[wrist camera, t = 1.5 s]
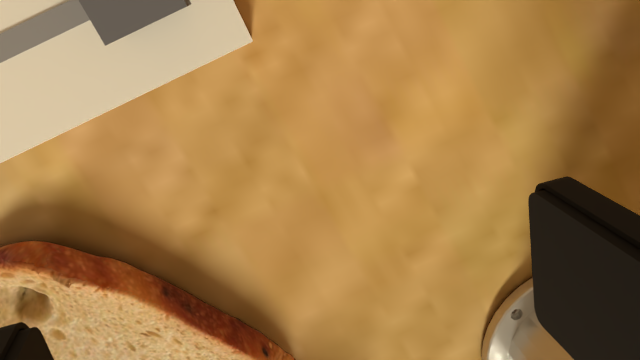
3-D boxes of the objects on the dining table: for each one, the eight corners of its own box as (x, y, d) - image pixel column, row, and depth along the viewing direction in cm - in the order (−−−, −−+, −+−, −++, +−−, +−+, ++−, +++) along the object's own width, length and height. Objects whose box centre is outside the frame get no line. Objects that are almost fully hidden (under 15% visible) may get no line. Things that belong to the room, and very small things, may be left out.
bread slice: (310, 396, 40) (318, 435, 37) (63, 481, 39) (48, 529, 36) (231, 169, 34) (233, 189, 31) (-65, 261, 33) (-99, 293, 30)
